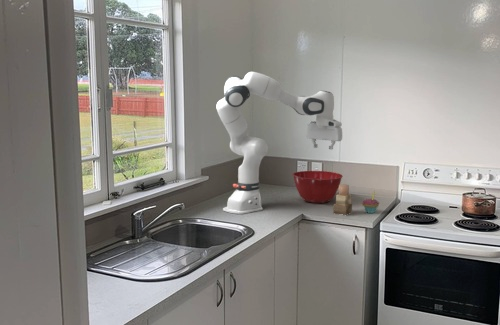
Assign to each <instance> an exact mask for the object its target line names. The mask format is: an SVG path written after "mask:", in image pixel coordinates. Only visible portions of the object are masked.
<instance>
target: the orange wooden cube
mask: <svg viewBox="0 0 500 325" xmlns="http://www.w3.org/2000/svg"><path fill="white" fill-rule="evenodd" d="M349 190H350V185H349V184H345V183H343V184H341V183H340V185H339V188H338V194H339V195H341V196H348V195H349V194H350V192H349Z"/></svg>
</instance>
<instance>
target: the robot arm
mask: <svg viewBox="0 0 500 325" xmlns="http://www.w3.org/2000/svg"><path fill="white" fill-rule="evenodd" d="M223 94H224V97H223V98H221V99H219V100H218V101H217V103H216V107H215V108H216V111H217V115H218V116H219V119H220V121H221V123H222V124H223V127H225V129H226V131H227V133H228V135H229V138H230V142H229V149H230V151H231V152H232V153H233V154H236V155H238V156H241V157H243V161H242V163H241V164H240V165H239V166H238V170H237V171H238V172H237V173H238V174H237V178H238V180H237V183H233V184H232V187H233V188H234V189H235V190H234V191H233V193H232V194H231V195H230V196H229V197H228V199H227V203H226V204H227V206H225V207H223V208H222V211H223V212H226V213H230V214H236V215H244V214H249V213H254V212H258V211H263V209H264V208H263V207H262V198H261V193H260V185H261V184H260V181H259V180H260V178H259V177H260V165H261V163H262V160H263V158H264V157H265V156H266V155H267V153H268V151H269V146H268V143H267V141H266V140H265V139H263V138H260V137H257V136H256V137H255V136H250V134H249V133H248V130H247V129H248V126H249V125H248V123H247V121H246V118H245V117H244V115H243V113H242V111H241V110H240V108H239V107H241V106H242V105H244V104H245V102H246V101H247V99H249V98H250V96H251V95H254V96H258V97H259V98H262V99H265V100H269V101H273V102H274V101H276V102H280V103H282V104H285V105H286V106H288V107H291V108H292V109H293V110H294V111H295V112H296V113H297V114H298V115H300V116H311V117H312V116H314V115H315V116H316V119H315V121H312V120H310V121H309V122H308V123H307V127H306V132H305V133H306V134H305V137H306V139H309V140H310V139H311V142H312V144H313V148H314V149H317V148H319V147H318V143H317V140H320V141H321V140H322V141H330V143H331V144H330V145H328V149H329V150H331V151H332V150H334V146H335V145H336V142H341V141H342V140H343V128H342V124H343V123H342V122H341V121H339V120H337V119H334V109H335V96H334V94H333V93H332V92H331V91H327V90H319V91H318V92H316V93H314V94H312V95H309V96H305V95H300V96H299V95H295V94H293V93H291V92H290V91H287V90H285V89H283V86H282V85H281V83H280V82H279V81H278V80H276V79H274V78H273V77H271V76H268V75H266V74H264V73H262V72H256V71H249V72H247V73H246V74H245V75H244V78H243V79H242V77H240V76H238V75H231V76H229V77H227V78H226V80H225V81H224V86H223Z"/></svg>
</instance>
